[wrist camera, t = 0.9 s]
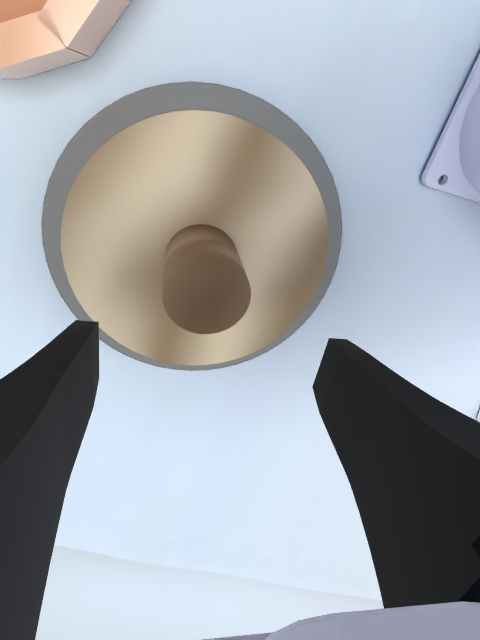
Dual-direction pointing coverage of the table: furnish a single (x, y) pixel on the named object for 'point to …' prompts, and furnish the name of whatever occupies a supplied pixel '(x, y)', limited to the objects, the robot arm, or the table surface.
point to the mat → (163, 102)
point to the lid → (194, 237)
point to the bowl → (52, 33)
